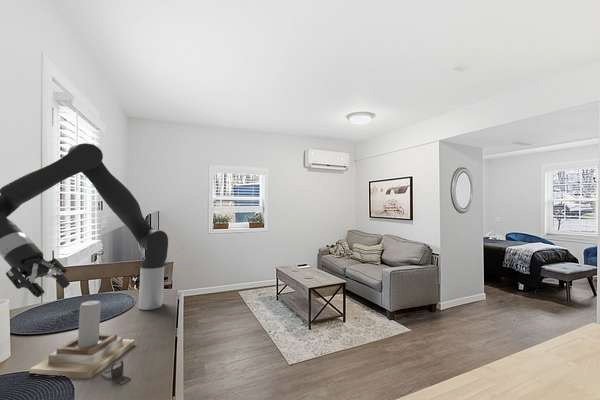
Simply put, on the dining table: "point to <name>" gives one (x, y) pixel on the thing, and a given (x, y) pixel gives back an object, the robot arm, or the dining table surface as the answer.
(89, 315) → the beverage can
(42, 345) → the dining table surface
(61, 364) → the stand
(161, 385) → the dining table surface
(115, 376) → the strap clip
